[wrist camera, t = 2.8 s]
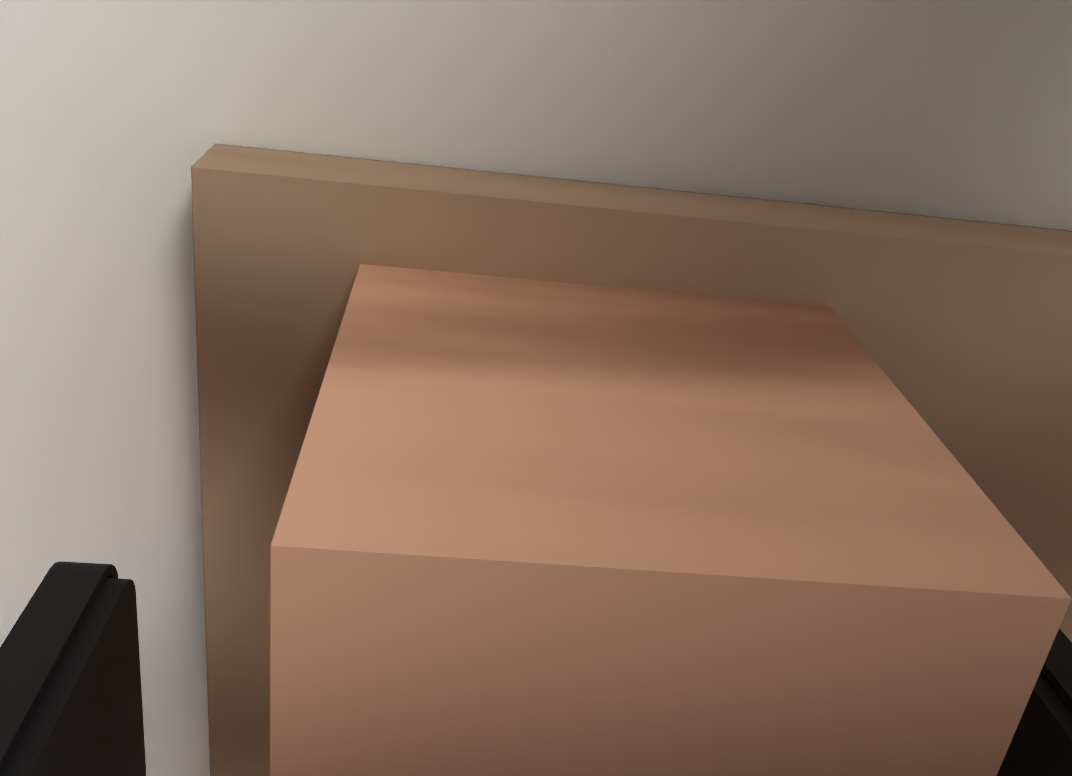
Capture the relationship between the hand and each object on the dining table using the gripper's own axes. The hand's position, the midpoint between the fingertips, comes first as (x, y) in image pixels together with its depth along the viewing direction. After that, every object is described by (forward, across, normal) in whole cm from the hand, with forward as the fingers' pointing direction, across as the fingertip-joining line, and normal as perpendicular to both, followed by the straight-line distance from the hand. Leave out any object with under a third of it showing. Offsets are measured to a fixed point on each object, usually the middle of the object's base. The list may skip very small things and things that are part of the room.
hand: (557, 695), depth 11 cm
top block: (+3, 0, -1) cm, 3 cm away
